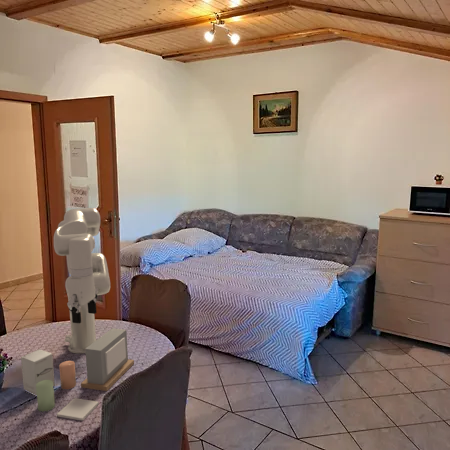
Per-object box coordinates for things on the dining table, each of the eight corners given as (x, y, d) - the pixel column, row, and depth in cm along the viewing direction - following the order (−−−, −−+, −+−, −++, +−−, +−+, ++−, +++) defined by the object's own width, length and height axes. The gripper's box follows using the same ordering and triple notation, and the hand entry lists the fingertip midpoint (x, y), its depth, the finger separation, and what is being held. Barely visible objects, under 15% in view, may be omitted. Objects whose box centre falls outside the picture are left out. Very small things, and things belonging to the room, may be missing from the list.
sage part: (34, 410, 134) (32, 387, 133) (45, 401, 139) (43, 379, 137) (48, 412, 133) (46, 389, 131) (58, 403, 137) (56, 380, 136)
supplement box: (36, 397, 141) (33, 362, 139) (23, 391, 145) (20, 356, 143) (55, 387, 147) (52, 353, 145) (42, 381, 151) (39, 348, 149)
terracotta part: (57, 388, 147) (56, 366, 145) (66, 381, 151) (65, 360, 150) (70, 390, 145) (68, 368, 144) (79, 382, 150) (77, 361, 149)
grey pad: (57, 416, 131) (56, 414, 131) (74, 400, 139) (74, 398, 139) (82, 420, 128) (82, 418, 128) (98, 404, 137) (98, 401, 137)
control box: (81, 387, 147) (78, 349, 145) (110, 360, 166) (108, 326, 164) (106, 391, 144) (104, 352, 142) (134, 363, 164) (132, 329, 161)
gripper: (86, 265, 160) (89, 309, 163) (57, 277, 144) (60, 326, 146) (104, 266, 158) (106, 310, 161) (76, 279, 142) (79, 327, 144)
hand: (84, 317), depth 154 cm, fingers open, 9 cm apart
